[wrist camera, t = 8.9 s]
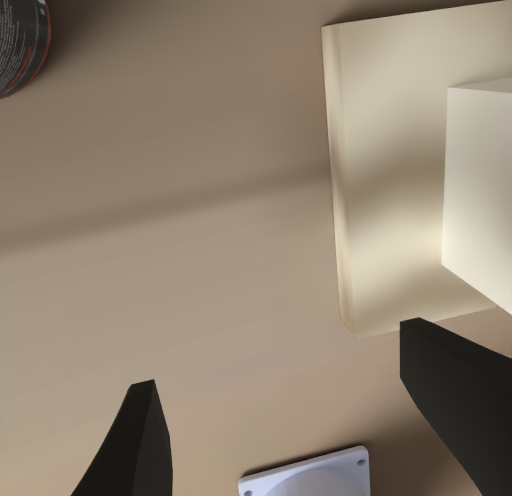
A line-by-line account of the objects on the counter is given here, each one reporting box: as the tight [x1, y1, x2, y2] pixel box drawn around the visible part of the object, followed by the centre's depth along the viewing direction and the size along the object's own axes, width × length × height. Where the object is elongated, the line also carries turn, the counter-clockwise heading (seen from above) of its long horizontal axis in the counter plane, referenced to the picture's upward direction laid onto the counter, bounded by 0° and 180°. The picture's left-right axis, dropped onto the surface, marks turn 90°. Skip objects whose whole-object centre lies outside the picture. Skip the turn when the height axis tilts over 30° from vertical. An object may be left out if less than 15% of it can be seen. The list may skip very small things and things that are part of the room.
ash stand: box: [321, 0, 512, 340], centre depth 22 cm, size 14×14×2 cm
